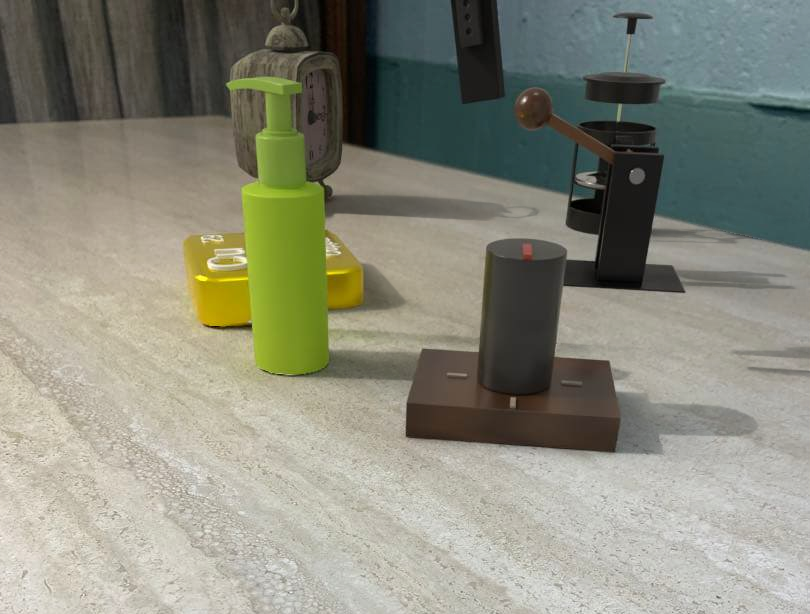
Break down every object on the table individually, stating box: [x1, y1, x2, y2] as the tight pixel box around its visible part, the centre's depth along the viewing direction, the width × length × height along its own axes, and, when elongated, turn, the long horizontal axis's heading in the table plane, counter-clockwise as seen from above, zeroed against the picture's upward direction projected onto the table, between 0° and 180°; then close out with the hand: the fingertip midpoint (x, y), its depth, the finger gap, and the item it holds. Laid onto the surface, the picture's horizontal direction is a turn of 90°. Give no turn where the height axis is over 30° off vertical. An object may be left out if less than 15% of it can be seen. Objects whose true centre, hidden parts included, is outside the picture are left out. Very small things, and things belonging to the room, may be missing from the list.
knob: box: [477, 237, 568, 394], centre depth 58 cm, size 5×5×9 cm
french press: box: [565, 12, 667, 236], centre depth 98 cm, size 12×9×23 cm
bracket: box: [563, 144, 686, 294], centre depth 84 cm, size 12×9×13 cm
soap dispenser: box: [225, 77, 330, 375], centre depth 64 cm, size 6×7×20 cm
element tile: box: [182, 228, 364, 328], centre depth 81 cm, size 15×15×5 cm
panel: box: [405, 347, 622, 453], centre depth 61 cm, size 14×10×3 cm
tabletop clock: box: [229, 0, 344, 199], centre depth 108 cm, size 14×9×25 cm, turn 161°
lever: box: [513, 86, 633, 165], centre depth 81 cm, size 14×4×4 cm, turn 83°
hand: (483, 100), depth 60 cm, fingers closed
